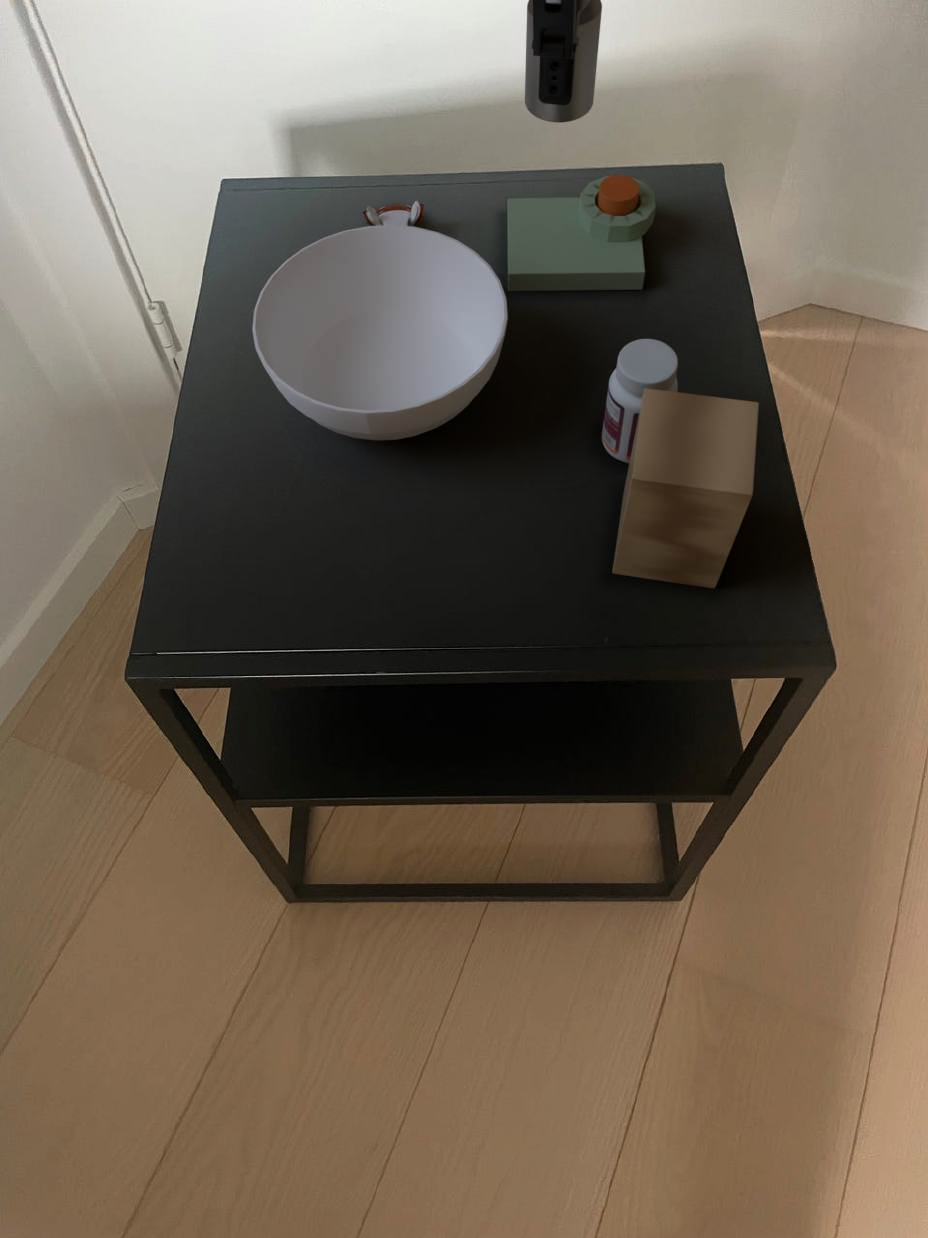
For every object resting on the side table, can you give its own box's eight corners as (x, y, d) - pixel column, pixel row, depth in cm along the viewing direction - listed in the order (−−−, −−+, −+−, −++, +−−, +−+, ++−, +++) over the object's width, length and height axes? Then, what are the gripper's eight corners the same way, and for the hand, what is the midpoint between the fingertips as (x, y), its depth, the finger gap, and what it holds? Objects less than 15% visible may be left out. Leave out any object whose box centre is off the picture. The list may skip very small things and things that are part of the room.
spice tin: (597, 82, 68) (606, -14, 62) (588, 125, 66) (597, 30, 60) (530, 76, 68) (533, -20, 63) (519, 119, 66) (521, 24, 61)
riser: (721, 505, 68) (759, 401, 58) (715, 589, 65) (753, 494, 55) (623, 491, 69) (644, 387, 59) (612, 573, 66) (631, 478, 56)
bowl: (512, 299, 78) (513, 226, 72) (501, 482, 70) (502, 417, 63) (291, 294, 79) (273, 221, 73) (254, 473, 71) (230, 409, 64)
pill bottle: (674, 426, 72) (694, 345, 64) (652, 473, 70) (670, 396, 62) (614, 406, 73) (627, 325, 65) (591, 453, 71) (601, 374, 63)
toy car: (426, 209, 84) (424, 177, 81) (427, 274, 80) (425, 243, 77) (367, 212, 84) (362, 180, 81) (365, 277, 80) (360, 247, 77)
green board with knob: (646, 209, 83) (652, 174, 80) (655, 289, 78) (661, 255, 75) (507, 212, 83) (507, 176, 80) (507, 291, 79) (508, 257, 76)
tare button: (635, 190, 79) (638, 173, 78) (638, 216, 78) (640, 200, 76) (596, 190, 79) (598, 174, 78) (598, 217, 78) (600, 201, 76)
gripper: (636, -165, 47) (602, 149, 62) (664, -293, 53) (627, 19, 68) (485, -174, 48) (488, 138, 63) (530, -299, 54) (523, 11, 69)
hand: (561, 74), depth 65 cm, fingers closed on spice tin, 4 cm apart
